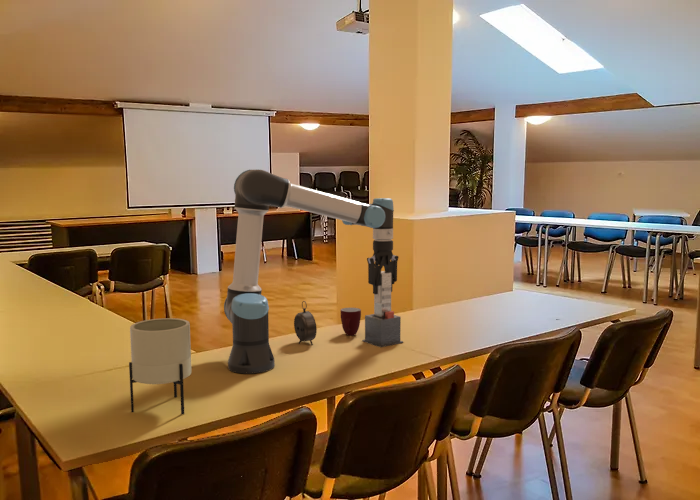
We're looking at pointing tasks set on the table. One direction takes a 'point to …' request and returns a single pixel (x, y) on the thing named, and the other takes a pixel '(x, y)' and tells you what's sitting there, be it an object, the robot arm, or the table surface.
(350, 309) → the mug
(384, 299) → the column
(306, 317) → the alarm clock
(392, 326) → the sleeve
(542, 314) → the table surface
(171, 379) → the planter
